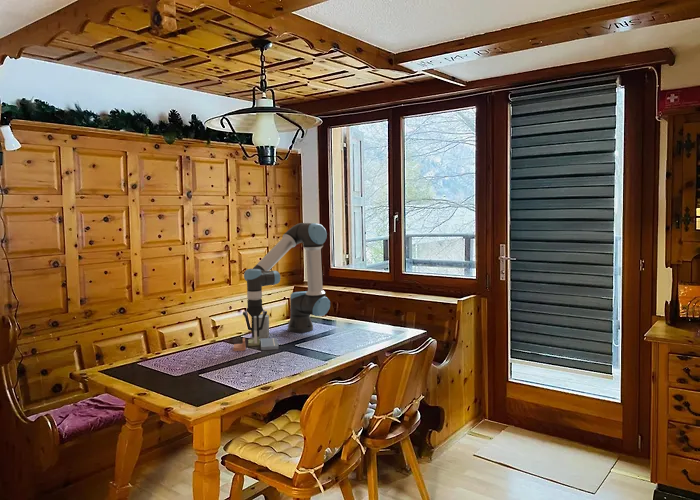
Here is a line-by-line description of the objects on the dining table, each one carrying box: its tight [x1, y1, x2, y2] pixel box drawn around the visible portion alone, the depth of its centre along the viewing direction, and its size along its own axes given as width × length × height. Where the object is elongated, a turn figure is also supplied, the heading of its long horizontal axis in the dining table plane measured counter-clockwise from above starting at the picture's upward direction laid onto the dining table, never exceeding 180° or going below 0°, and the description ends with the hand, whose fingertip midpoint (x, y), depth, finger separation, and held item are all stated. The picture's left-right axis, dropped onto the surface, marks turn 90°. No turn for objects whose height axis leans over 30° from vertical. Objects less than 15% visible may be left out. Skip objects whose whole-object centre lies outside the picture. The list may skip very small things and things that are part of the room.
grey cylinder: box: [251, 313, 270, 340], centre depth 308 cm, size 10×10×12 cm
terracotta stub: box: [233, 337, 247, 352], centre depth 283 cm, size 6×8×5 cm
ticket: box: [259, 337, 280, 351], centre depth 291 cm, size 9×18×2 cm, turn 11°
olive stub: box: [247, 337, 261, 347], centre depth 293 cm, size 6×8×5 cm
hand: (255, 342), depth 285 cm, fingers closed
